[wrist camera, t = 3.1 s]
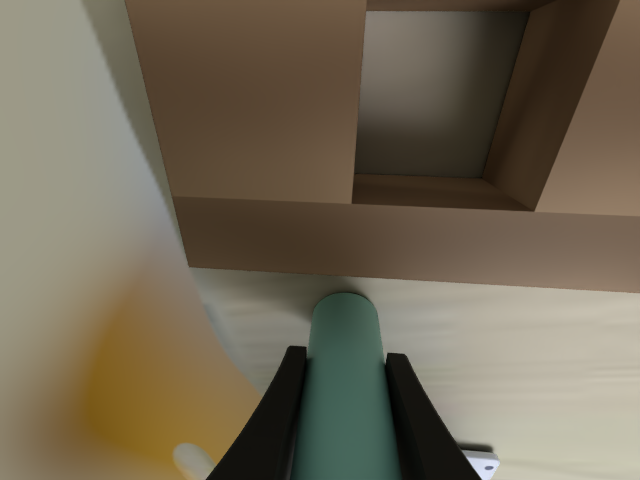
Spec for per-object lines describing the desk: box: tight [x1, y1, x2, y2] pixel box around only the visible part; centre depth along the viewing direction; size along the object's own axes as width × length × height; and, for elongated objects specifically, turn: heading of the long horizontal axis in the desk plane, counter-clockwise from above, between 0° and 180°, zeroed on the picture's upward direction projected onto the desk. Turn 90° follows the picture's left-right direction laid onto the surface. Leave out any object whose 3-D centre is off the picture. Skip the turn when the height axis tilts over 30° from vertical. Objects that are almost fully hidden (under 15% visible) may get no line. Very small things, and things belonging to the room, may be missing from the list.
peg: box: [290, 293, 402, 480], centre depth 9 cm, size 3×3×9 cm
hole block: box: [125, 0, 640, 293], centre depth 7 cm, size 9×14×3 cm, turn 89°
